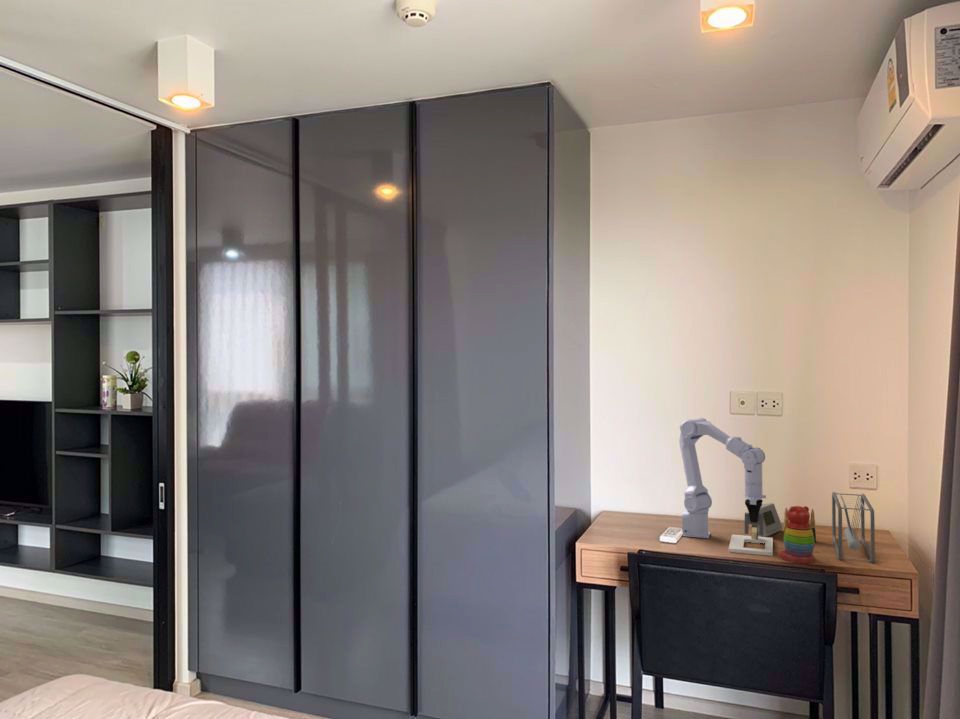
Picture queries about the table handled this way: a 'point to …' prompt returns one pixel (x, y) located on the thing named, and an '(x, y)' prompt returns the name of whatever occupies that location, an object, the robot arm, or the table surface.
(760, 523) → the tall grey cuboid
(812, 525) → the ammunition clip
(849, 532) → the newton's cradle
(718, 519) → the table surface
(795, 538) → the stacking bear
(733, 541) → the white slotted board
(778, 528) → the digital clock
